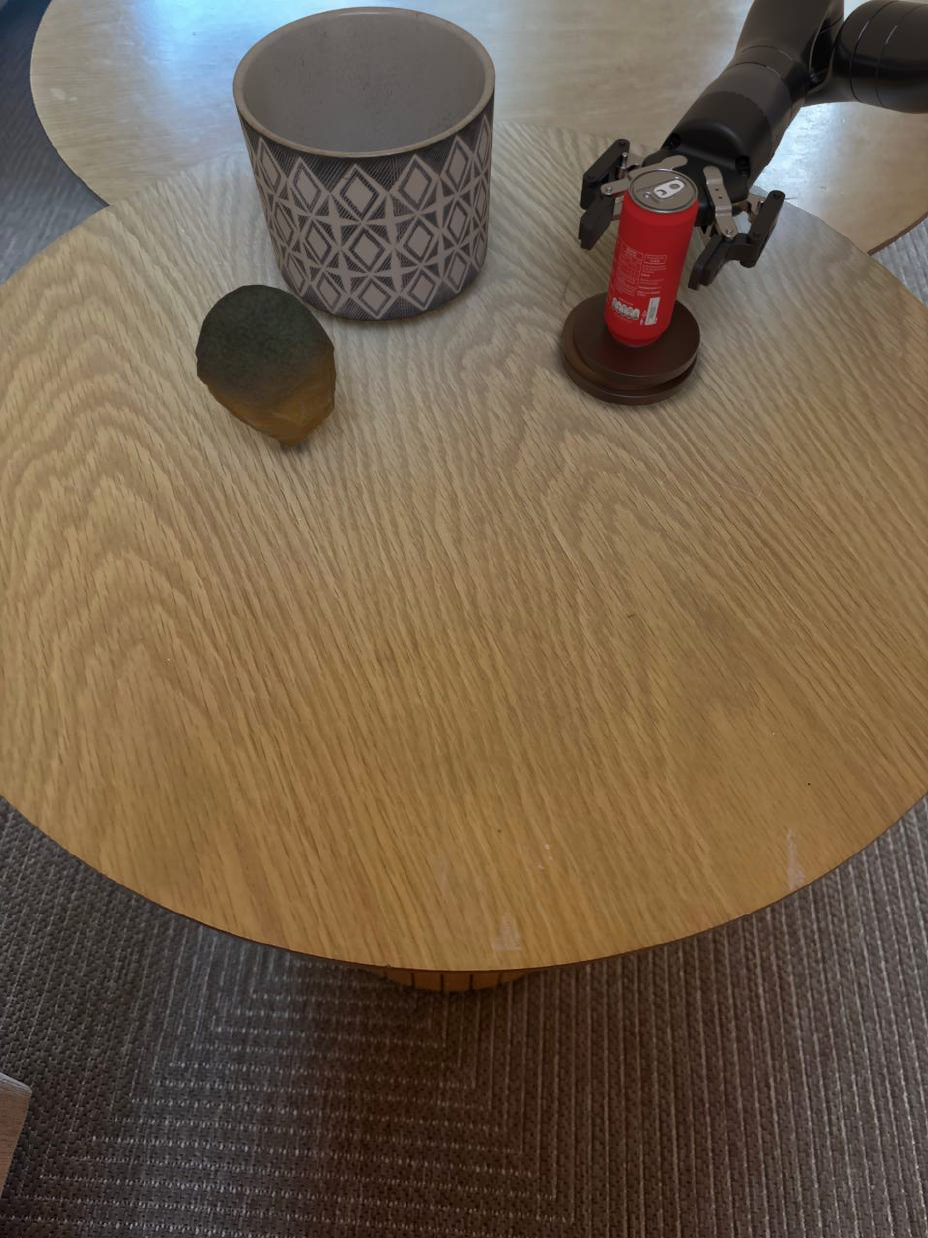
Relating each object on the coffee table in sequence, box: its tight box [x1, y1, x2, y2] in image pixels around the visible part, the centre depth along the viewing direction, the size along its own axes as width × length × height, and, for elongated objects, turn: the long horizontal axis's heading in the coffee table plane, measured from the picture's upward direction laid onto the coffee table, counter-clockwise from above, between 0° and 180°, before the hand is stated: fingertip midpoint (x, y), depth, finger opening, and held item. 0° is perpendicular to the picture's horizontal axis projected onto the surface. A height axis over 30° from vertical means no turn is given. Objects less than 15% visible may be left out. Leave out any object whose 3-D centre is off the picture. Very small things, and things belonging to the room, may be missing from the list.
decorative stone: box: [194, 284, 337, 447], centre depth 62 cm, size 10×6×15 cm, turn 95°
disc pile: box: [561, 290, 701, 406], centre depth 72 cm, size 11×11×3 cm
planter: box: [231, 5, 496, 322], centre depth 72 cm, size 19×19×16 cm
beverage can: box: [604, 169, 699, 347], centre depth 66 cm, size 5×5×12 cm
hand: (639, 258), depth 63 cm, fingers open, 8 cm apart
